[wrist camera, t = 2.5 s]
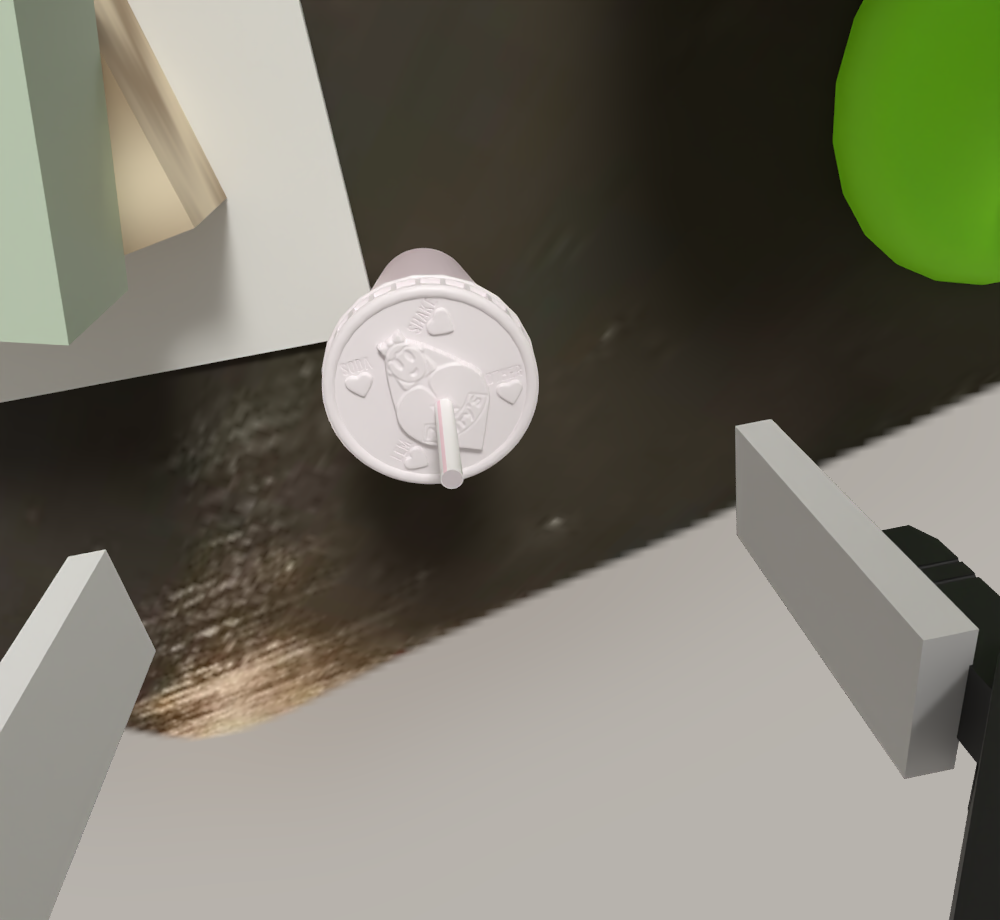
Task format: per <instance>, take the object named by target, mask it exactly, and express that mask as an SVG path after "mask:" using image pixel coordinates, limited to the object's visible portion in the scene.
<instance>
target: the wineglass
mask: <svg viewBox="0 0 1000 920" xmlns="http://www.w3.org/2000/svg"><path fill="white" fill-rule="evenodd" d="M833 147H834V152H835V157H836V162H837V167H838V172H839V177H840V182H841V187H842V192H843V195H844V197H845V199H846V201H847V202H848V204H849V206H850V208H851V210H852V212H853V214H854V216H855V217H856V219H857V221H858V223H859V225H860V227H861V229H862V231H863V232H864V234H865V235H866V236H867V237H868V238H869V239H870V240H871V241H872V242H873V243H874V244H875V245H876V246H877V247H879V248H880V249H881V250H882V251H883V252H884V253H885V254H886V255H887V256H888V257H889V258H890V259H891V260H893V261H894V262H895V263H896V264H897V265H900V266H902V267H904V268H907V269H909V270H911V271H914V272H916V273H918V274H921V275H923V276H925V277H928V278H930V279H932V280H935V281H943V282H954V283H965V284H976V285H986V284H991V283H997V282H1000V0H863V2H862V4H861V6H860V8H859V10H858V12H857V14H856V15H855V17H854V20H853V24H852V27H851V31H850V34H849V38H848V42H847V45H846V49H845V52H844V56H843V59H842V63H841V66H840V70H839V73H838V77H837V80H836V90H835V108H834V125H833Z"/></svg>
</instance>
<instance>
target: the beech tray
mask: <svg viewBox="0 0 1000 920" xmlns="http://www.w3.org/2000/svg"><path fill="white" fill-rule="evenodd" d="M94 7H95V16H96V24H97V32H98V41H99V49H100V57H101V66H102V74H103V82H104V91H105V99H106V107H107V116H108V124H109V132H110V141H111V149H112V158H113V166H114V174H115V183H116V191H117V199H118V208H119V216H120V224H121V233H122V241H123V249H124V255H126V254H129V253H132V252H134V251H137V250H139V249H142V248H144V247H147V246H150V245H152V244H155V243H157V242H160V241H162V240H165V239H168V238H170V237H173V236H175V235H178V234H181V233H183V232H186V231H188V230H191V229H193V228H195V227H196V226H197V225H198V224H200V223H201V222H202V221H203V220H204V219H205V218H206V217H207V216H208V215H209V214H210V213H211V212H212V211H213V210H215V209H216V208H217V207H218V206H219V205H220V204H221V203H222V202H223V201H224V200H225V199H226V198H227V197H226V195H225V193H224V191H223V189H222V187H221V185H220V183H219V181H218V179H217V177H216V175H215V173H214V171H213V169H212V167H211V165H210V163H209V161H208V159H207V157H206V155H205V153H204V151H203V149H202V147H201V145H200V143H199V141H198V139H197V137H196V136H195V134H194V132H193V130H192V128H191V126H190V124H189V122H188V120H187V118H186V116H185V114H184V112H183V110H182V108H181V106H180V104H179V102H178V100H177V98H176V96H175V94H174V92H173V90H172V88H171V86H170V84H169V82H168V80H167V78H166V76H165V74H164V72H163V70H162V68H161V66H160V64H159V62H158V60H157V58H156V56H155V54H154V52H153V50H152V48H151V46H150V44H149V42H148V40H147V38H146V37H145V35H144V33H143V31H142V29H141V27H140V25H139V23H138V21H137V19H136V17H135V15H134V13H133V11H132V9H131V7H130V5H129V3H128V1H127V0H94Z"/></svg>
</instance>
